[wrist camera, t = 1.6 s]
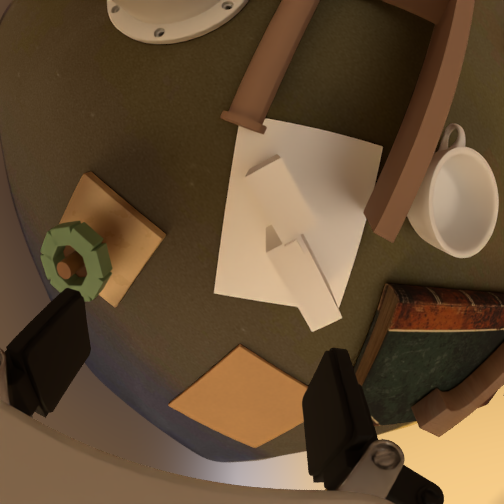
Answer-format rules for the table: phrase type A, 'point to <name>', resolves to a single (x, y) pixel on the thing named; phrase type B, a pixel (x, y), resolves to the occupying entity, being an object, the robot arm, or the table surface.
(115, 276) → the ring peg
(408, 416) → the book
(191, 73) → the table surface
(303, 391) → the cork mat
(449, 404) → the wooden block
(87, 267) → the ring
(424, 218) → the teacup
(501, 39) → the table surface
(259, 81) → the toilet paper hanger
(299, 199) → the napkin holder
